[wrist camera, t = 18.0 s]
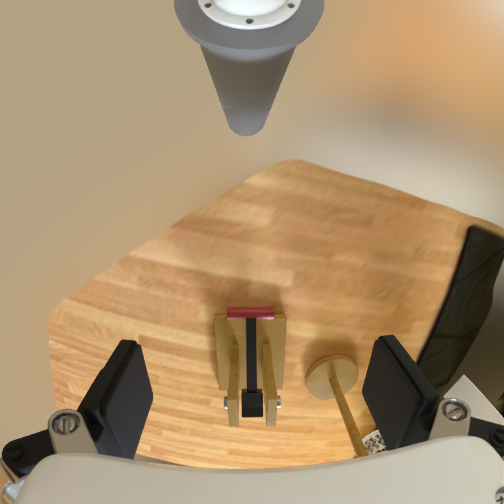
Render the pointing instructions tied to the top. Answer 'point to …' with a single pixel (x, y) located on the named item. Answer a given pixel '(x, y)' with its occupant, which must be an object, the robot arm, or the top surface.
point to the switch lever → (251, 355)
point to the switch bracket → (234, 362)
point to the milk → (474, 401)
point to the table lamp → (337, 390)
